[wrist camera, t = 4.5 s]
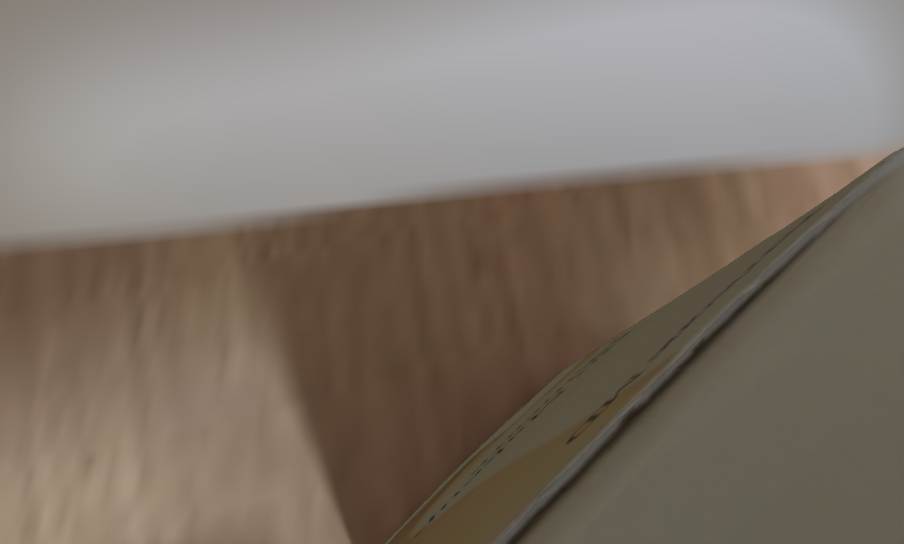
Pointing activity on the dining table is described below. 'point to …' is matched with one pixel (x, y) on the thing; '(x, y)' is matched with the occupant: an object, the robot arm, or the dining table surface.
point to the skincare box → (719, 407)
